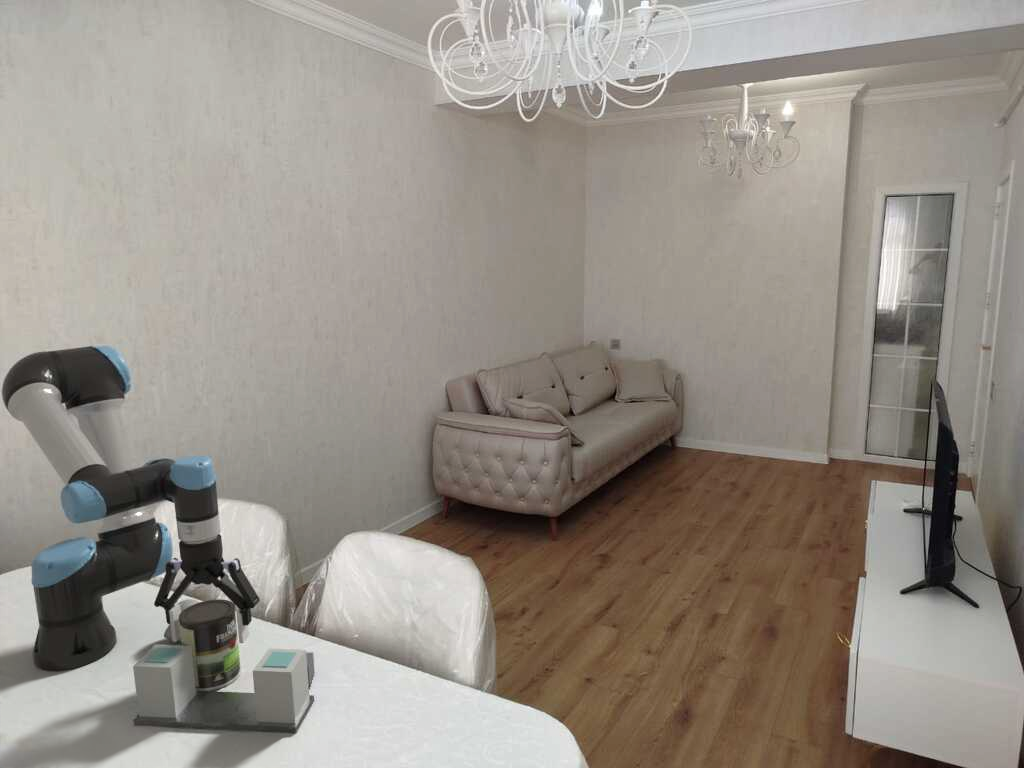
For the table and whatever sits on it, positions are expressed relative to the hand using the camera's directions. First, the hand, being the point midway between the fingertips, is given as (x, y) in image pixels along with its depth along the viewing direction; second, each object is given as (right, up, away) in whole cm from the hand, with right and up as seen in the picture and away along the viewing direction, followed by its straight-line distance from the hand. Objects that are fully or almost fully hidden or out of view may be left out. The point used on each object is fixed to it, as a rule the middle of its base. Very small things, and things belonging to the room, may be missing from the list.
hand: (211, 639), depth 141 cm
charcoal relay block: (+18, -8, -1) cm, 20 cm away
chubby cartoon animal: (-11, -5, +18) cm, 22 cm away
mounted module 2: (+18, -9, -11) cm, 23 cm away
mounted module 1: (-4, -9, -9) cm, 13 cm away
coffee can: (0, -8, +2) cm, 9 cm away
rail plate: (+7, -10, -10) cm, 16 cm away
